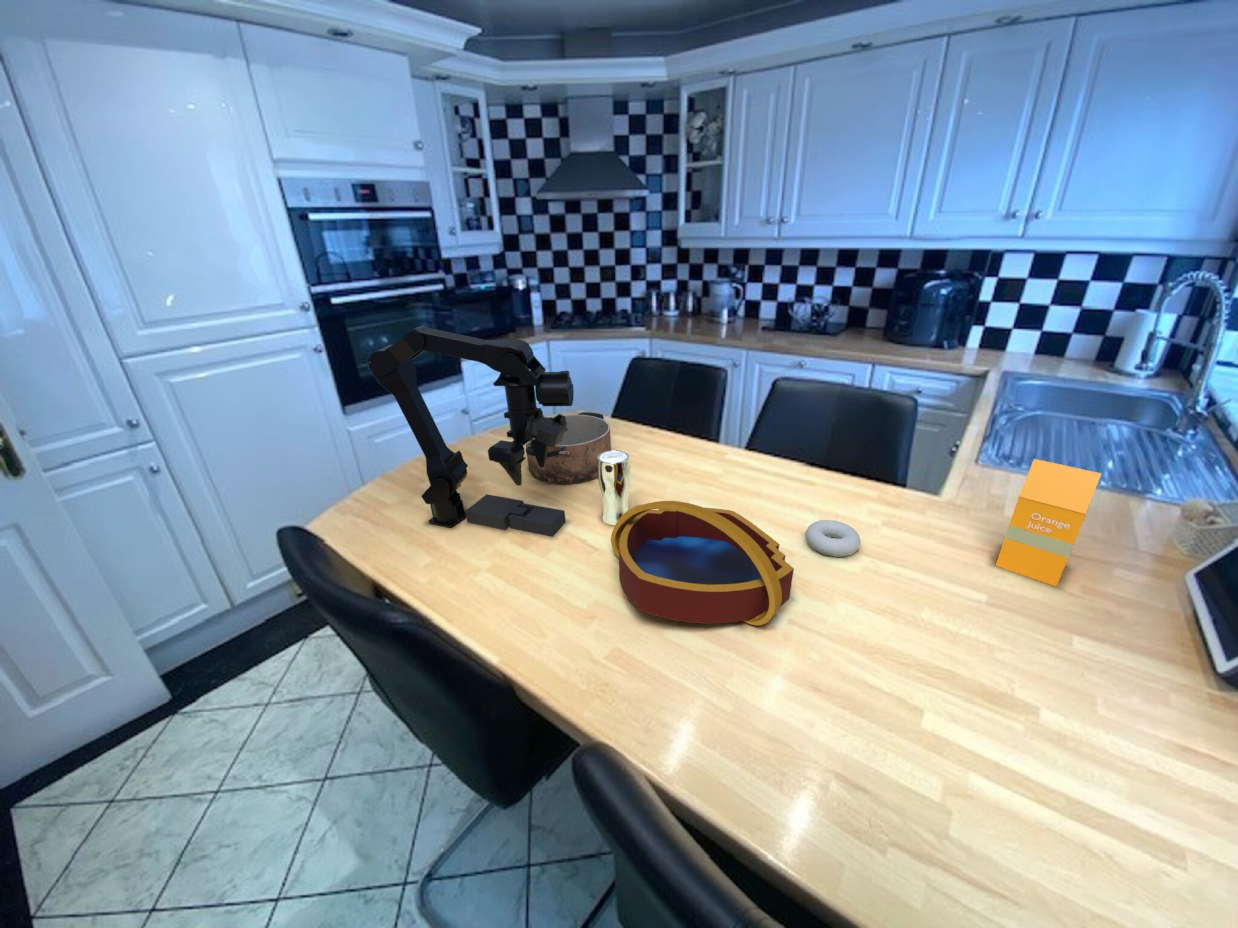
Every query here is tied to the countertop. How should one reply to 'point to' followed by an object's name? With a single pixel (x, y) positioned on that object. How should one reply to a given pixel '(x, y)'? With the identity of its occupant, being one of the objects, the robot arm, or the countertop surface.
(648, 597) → the decorative basket
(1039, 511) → the orange juice
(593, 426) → the cooking pot
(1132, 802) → the countertop surface
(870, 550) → the countertop surface
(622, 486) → the beer glass
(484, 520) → the dock pad
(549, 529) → the black flat notched block
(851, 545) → the donut
